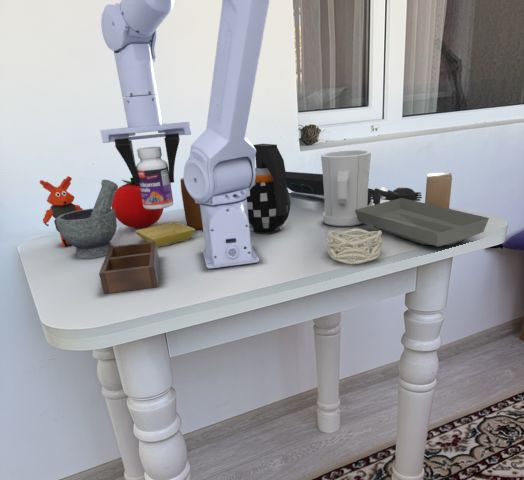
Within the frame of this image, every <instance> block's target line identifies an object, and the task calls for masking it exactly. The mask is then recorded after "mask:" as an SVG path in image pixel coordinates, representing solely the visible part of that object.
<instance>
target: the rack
mask: <svg viewBox="0 0 524 480" xmlns="http://www.w3.org/2000/svg"><path fill="white" fill-rule="evenodd" d="M159 259H160V257H159V251H158V247H157V246H156V241H152V242H147V241H144V242H137V243H128V244H120V245H112V246H111V247H109V249H108V252H107V254H106V255H105V256H104V260H103V262H102V265H101V268H100V270H99V273H98V275H99V279H100V284H101V287H102V291H103V294H104V295H108V294H115V293H122V292H131V291H136V290H137V291H138V290H143V289H144V290H146V289H152V288H158V287H159V267H160V265H159V263H160V260H159Z"/></svg>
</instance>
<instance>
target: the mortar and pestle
mask: <svg viewBox="0 0 524 480" xmlns="http://www.w3.org/2000/svg"><path fill="white" fill-rule="evenodd" d="M100 184H101V187H100V191H99V192H98V195H97V197H96V201H95V203H94V205H93V208H87V209H86V208H85V209H83V210H79V211H73V212H70V213H66V214H62V215H60V216H59V217H57V218H56V222H57V226H58V229H59V231H60V232H59V234H60V233H61V235H62V236H63V238H64V239H65V240H66V241H67V242H68V243H69V244H71V246H73V247H74V248H75V255H76V257H77V258H80V259H95V258H101V257H105V256H106V254H107V252H108V249H109V247H111V246H113V245H112V244H111V240H112V239H113V237H114V236H115V234H116V230H117V226H118V225H117V223H118V221H117V218H116V213H115V210H114V209H112V202H113V198H114V194H115V191H116V190H117V189H118V188H119V185H118V184H117V183H115V182H114V181H111V180H110V179H101V182H100Z"/></svg>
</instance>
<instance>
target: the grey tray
mask: <svg viewBox="0 0 524 480" xmlns="http://www.w3.org/2000/svg"><path fill="white" fill-rule="evenodd" d="M355 212H356V215H357V218H358V220H359V222H362V223H363V224H365V225H369V226H372V227H373V228H375V229H377V230H378V231H381V232H385V233H388V234H390V235H393V236H397V237H399V238H402V239H405V240H409V241H411V242H414V243H417V244H421V245H424V246H425V245H426V246H427V245H429V246H435V247H443V246H453V245H455V244H457V243H459V242H462V241H464V240H466V239H468V238H471V237H474V236H477V235H480V234H482V233H484V232H485V229H486V226H487V224H488V222H489V219H490V217H488V216H487V217H486V216H481V215H478V214H473V213H469V212H464V211H460V210H456V209H452V208H449V209H448V208H443V207H439V206H435V205H430V204H426V203H425V202H421V201H413V200H409V199H404V198H399V199H395V200H392V201H390V200H387V201H384V202H380V204H376V205H375V204H372V205H371V206H368V207H364V208H360V209H356V210H355Z"/></svg>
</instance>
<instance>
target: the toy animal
mask: <svg viewBox="0 0 524 480" xmlns="http://www.w3.org/2000/svg"><path fill="white" fill-rule="evenodd" d="M72 181H73V178H72V177H71V176H70V175H67V176H66V177H65V178H63V180H61V183H60V184H59V185H58V186H55V185H53V184H52V183H50V182H49V181H44V180H43V179H40V181H38V182H39V184H40V185H41V186H42V188H43V189H45V190H46V191H48V192H50V193H49V194H48V196H47V198H46V202H47V203H48V204H50V206H49V207H50V208H49V209H46V211H45V214H44V216H43V218H42V223H43V224H44V225H45V226H46V227H49V226H50V225H49V224H48V223H49V221H50V220H51V219H52V217H53V218H54V220H53V222H54V226H55V230H56V231H57V232H58V233H59V235H60V236H59V237H60V238H61V246H62V247H65V248H67V247H68V246H69V247H71V246H72V245H71V244H69V243H68V242H67V241H66V240H65V239H64V238H63V236H62V235H61V233H60V231H59V229H58V226H57V222H56V218H57V217H59V216H60V215H62V214H66V213H70V212H73V211H79V210H84V209H83V208H82V207H81V206H80V205H79V204H74V200H75V196H74V195H73V194H71V193H70V192H68V189H69V187H70V186H71V185H72Z"/></svg>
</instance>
